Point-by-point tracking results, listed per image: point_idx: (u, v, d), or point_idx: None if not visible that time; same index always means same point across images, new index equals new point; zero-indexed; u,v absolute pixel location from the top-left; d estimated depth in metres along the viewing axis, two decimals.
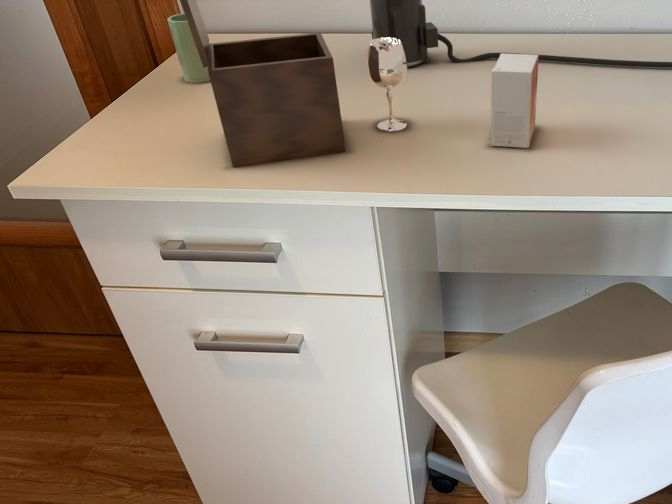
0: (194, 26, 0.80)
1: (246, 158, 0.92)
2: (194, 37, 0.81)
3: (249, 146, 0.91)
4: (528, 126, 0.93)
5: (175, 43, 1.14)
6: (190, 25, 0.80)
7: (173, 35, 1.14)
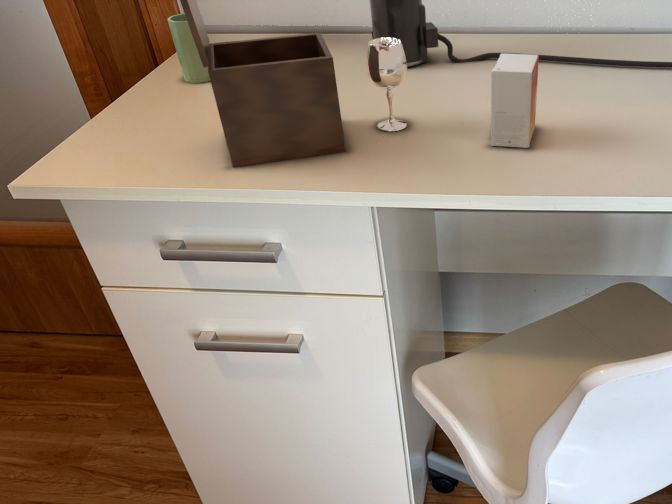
0: (194, 26, 0.80)
1: (246, 158, 0.92)
2: (194, 37, 0.81)
3: (249, 146, 0.91)
4: (528, 126, 0.93)
5: (175, 43, 1.14)
6: (190, 25, 0.80)
7: (173, 35, 1.14)
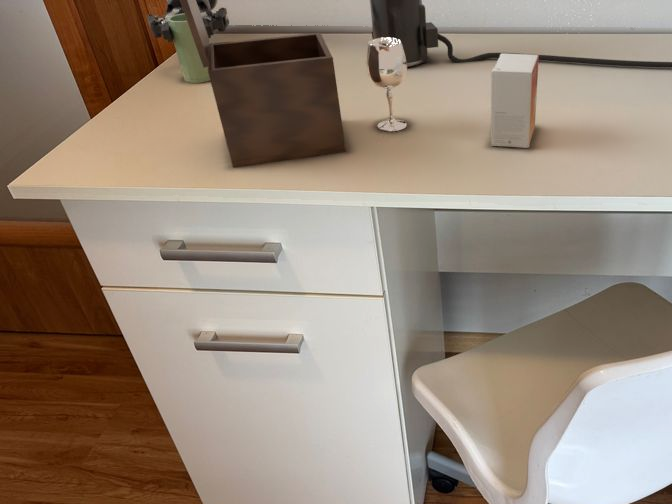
0: (194, 26, 0.80)
1: (246, 158, 0.92)
2: (194, 37, 0.81)
3: (249, 146, 0.91)
4: (528, 126, 0.93)
5: (175, 43, 1.14)
6: (190, 25, 0.80)
7: (173, 35, 1.14)
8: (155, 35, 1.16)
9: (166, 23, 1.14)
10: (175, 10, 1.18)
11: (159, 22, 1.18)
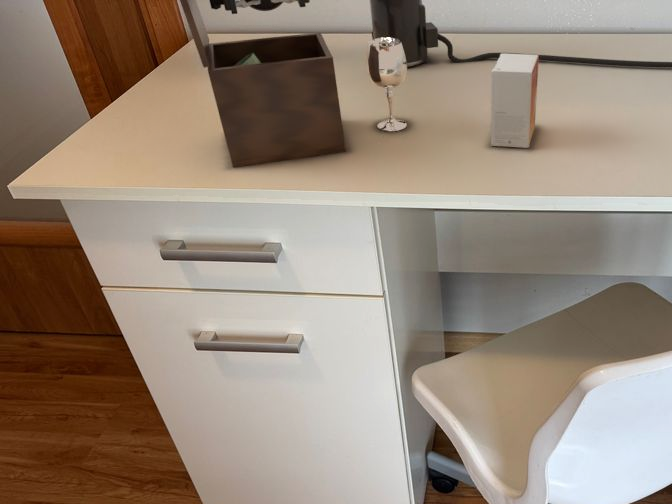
0: (194, 26, 0.80)
1: (246, 158, 0.92)
2: (194, 37, 0.81)
3: (249, 146, 0.91)
4: (528, 126, 0.93)
5: None
6: (190, 25, 0.80)
7: None
8: (212, 6, 0.87)
9: None
10: None
11: None
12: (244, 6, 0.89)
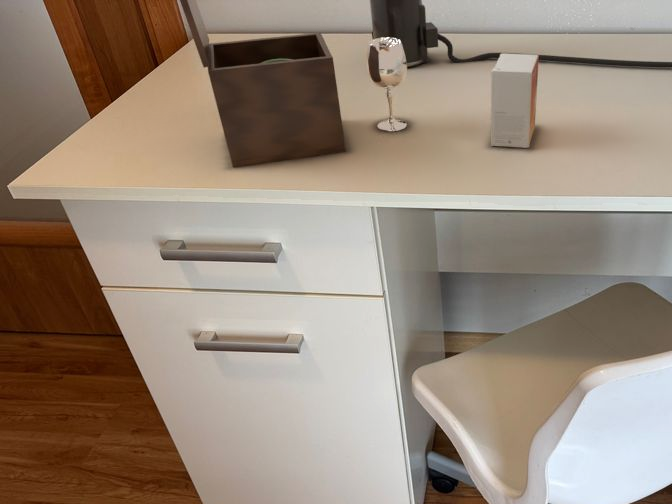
0: (194, 26, 0.80)
1: (246, 158, 0.92)
2: (194, 37, 0.81)
3: (249, 146, 0.91)
4: (528, 126, 0.93)
5: None
6: (190, 25, 0.80)
7: None
8: None
9: None
10: None
11: None
12: None
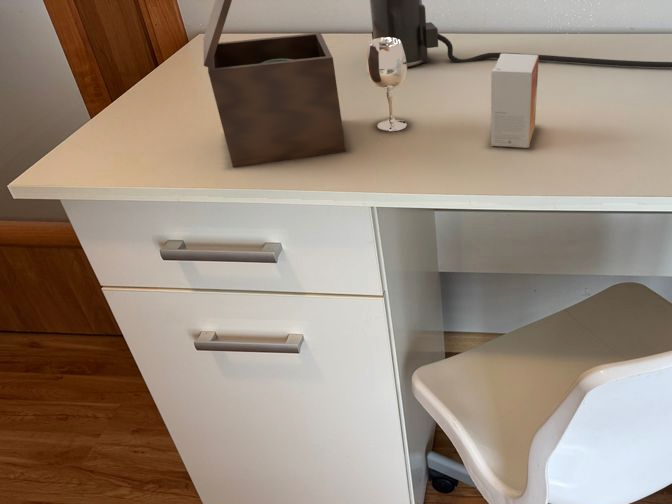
0: (220, 31, 0.81)
1: (246, 158, 0.92)
2: (213, 38, 0.81)
3: (249, 146, 0.91)
4: (528, 126, 0.93)
5: None
6: (217, 27, 0.81)
7: None
8: None
9: None
10: None
11: None
12: None
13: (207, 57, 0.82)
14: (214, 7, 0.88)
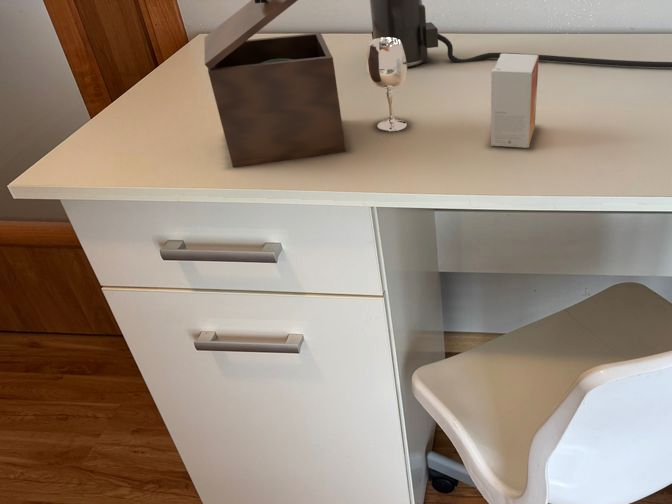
0: (237, 45, 0.83)
1: (246, 158, 0.92)
2: (227, 48, 0.82)
3: (249, 146, 0.91)
4: (528, 126, 0.93)
5: None
6: (236, 41, 0.82)
7: None
8: None
9: None
10: None
11: None
12: None
13: (212, 59, 0.83)
14: (232, 19, 0.89)
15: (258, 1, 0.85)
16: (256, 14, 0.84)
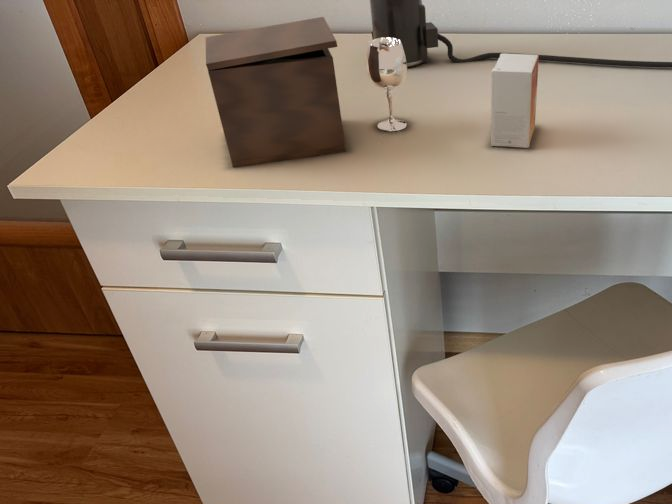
0: (245, 61, 0.84)
1: (246, 158, 0.92)
2: (235, 60, 0.84)
3: (249, 146, 0.91)
4: (528, 126, 0.93)
5: None
6: (246, 58, 0.84)
7: None
8: None
9: None
10: None
11: None
12: None
13: (215, 63, 0.83)
14: (242, 35, 0.91)
15: None
16: (272, 43, 0.87)
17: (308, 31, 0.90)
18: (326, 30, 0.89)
